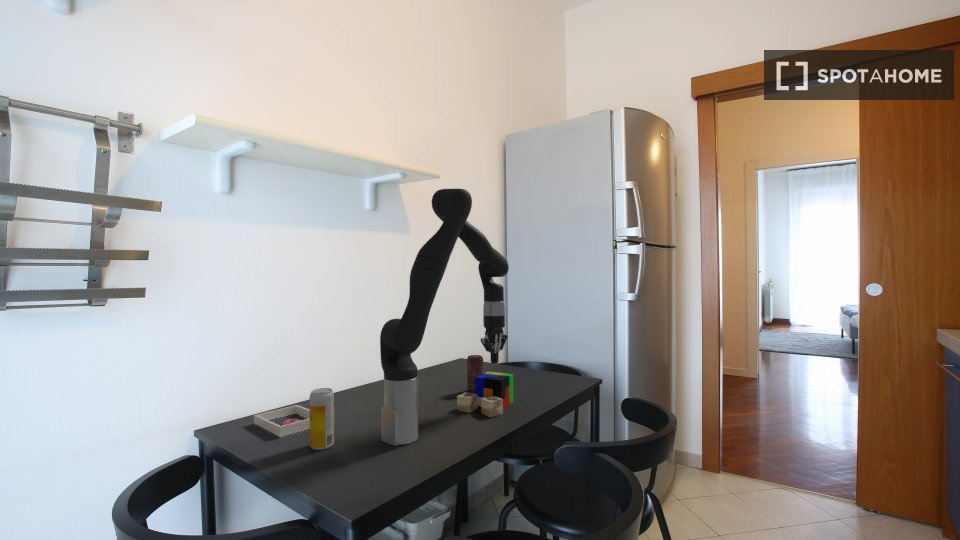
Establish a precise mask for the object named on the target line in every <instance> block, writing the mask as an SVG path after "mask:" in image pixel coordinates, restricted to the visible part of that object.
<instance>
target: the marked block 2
mask: <svg viewBox="0 0 960 540" xmlns="http://www.w3.org/2000/svg"><path fill="white" fill-rule="evenodd" d="M480 407H481V409H480V410H481V411H480V412H481V414H483V415H485V416H487V417H489V418H494V417H498V416H501V415H502V416H503V414H504V408H503V399H501V398H498V397H495V396H490V397H485V398H481V406H480Z"/></svg>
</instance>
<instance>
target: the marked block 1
mask: <svg viewBox="0 0 960 540" xmlns="http://www.w3.org/2000/svg"><path fill="white" fill-rule="evenodd" d="M478 407H479V406H478V395H477V394H473V393H469V392H463V393H461V394H459V395H457V396H456V410H457V411H458V412H459V411H460V412H465V413H472V412H474V411H476V410H478V409H479V408H478Z"/></svg>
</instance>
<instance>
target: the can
mask: <svg viewBox="0 0 960 540" xmlns="http://www.w3.org/2000/svg"><path fill="white" fill-rule="evenodd" d="M481 374H484V358H483V355H480V354H479V355H478V354H471V355H468V356H467V359H466V380H467V381H466V383H467V384H466V385H467V387H466V391H467V393H471V394H475V377H477V376H479V375H481Z"/></svg>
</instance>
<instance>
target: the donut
mask: <svg viewBox="0 0 960 540" xmlns="http://www.w3.org/2000/svg"><path fill="white" fill-rule="evenodd" d="M301 420H302V419H298V418H288V419H286V420H284V421H283V422H282V423H283V425H287V424H290V423H294V422H298V421H301ZM283 425H282V426H283Z"/></svg>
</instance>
